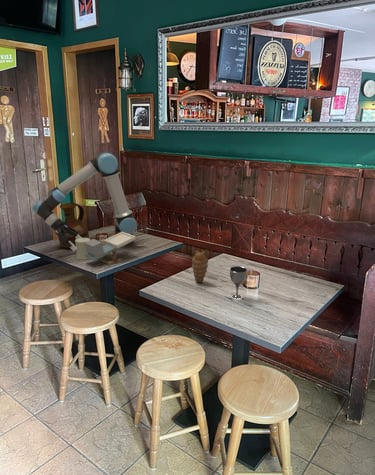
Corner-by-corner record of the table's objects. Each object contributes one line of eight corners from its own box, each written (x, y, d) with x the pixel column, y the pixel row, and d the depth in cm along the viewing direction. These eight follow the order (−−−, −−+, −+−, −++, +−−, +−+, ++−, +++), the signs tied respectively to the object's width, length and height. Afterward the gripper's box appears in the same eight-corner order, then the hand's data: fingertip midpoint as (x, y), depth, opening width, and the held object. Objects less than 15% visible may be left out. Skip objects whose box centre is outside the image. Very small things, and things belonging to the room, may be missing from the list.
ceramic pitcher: (53, 246, 255) (49, 203, 246) (77, 239, 271) (73, 198, 262) (72, 252, 245) (68, 207, 236) (95, 244, 260) (93, 202, 251)
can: (93, 255, 240) (92, 237, 236) (88, 260, 231) (87, 241, 228) (79, 254, 241) (78, 236, 237) (74, 259, 232) (72, 241, 229)
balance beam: (123, 236, 244) (120, 224, 240) (136, 241, 234) (133, 229, 231) (83, 255, 226) (79, 243, 223) (95, 261, 217) (92, 248, 213)
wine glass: (228, 293, 189) (229, 266, 185) (243, 294, 189) (245, 266, 185) (229, 300, 182) (230, 272, 177) (245, 301, 181) (247, 272, 177)
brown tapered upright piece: (208, 280, 204) (209, 249, 199) (205, 286, 197) (206, 254, 191) (193, 278, 207) (194, 247, 201) (189, 284, 199) (189, 252, 194)
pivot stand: (109, 255, 240) (108, 243, 238) (123, 261, 230) (122, 249, 228) (95, 258, 234) (95, 246, 231) (109, 265, 223) (108, 252, 221)
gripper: (59, 220, 243) (83, 243, 246) (41, 231, 220) (68, 257, 223) (66, 213, 241) (90, 236, 244) (49, 223, 218) (76, 249, 221)
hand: (80, 246), depth 234 cm, fingers open, 13 cm apart
